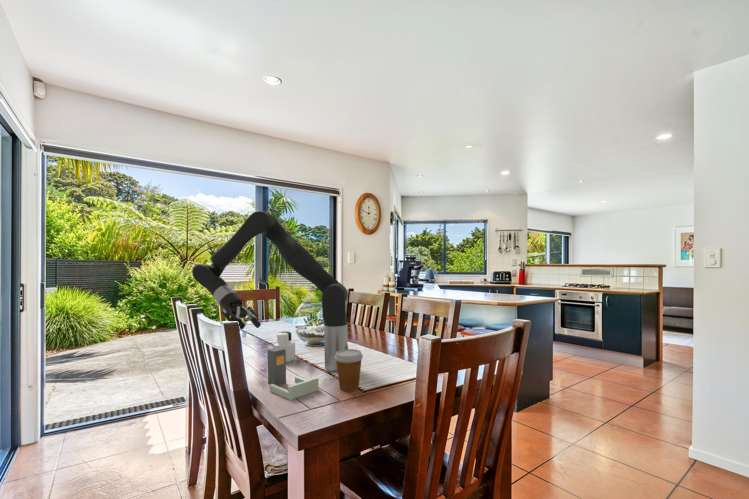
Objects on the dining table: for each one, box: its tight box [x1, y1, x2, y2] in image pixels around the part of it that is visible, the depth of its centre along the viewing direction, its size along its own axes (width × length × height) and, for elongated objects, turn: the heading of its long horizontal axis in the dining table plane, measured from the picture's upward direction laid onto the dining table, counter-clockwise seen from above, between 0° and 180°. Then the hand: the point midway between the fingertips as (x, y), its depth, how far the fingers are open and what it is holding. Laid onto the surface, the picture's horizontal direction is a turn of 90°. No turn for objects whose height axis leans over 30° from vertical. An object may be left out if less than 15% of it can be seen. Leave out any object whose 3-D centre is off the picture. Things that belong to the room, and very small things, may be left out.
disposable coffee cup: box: [335, 348, 364, 393], centre depth 125 cm, size 10×10×12 cm
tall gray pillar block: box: [266, 347, 287, 386], centre depth 131 cm, size 5×4×12 cm
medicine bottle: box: [272, 331, 296, 364], centre depth 160 cm, size 7×7×12 cm
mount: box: [269, 375, 320, 401], centre depth 124 cm, size 12×11×4 cm
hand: (251, 326), depth 140 cm, fingers open, 8 cm apart
